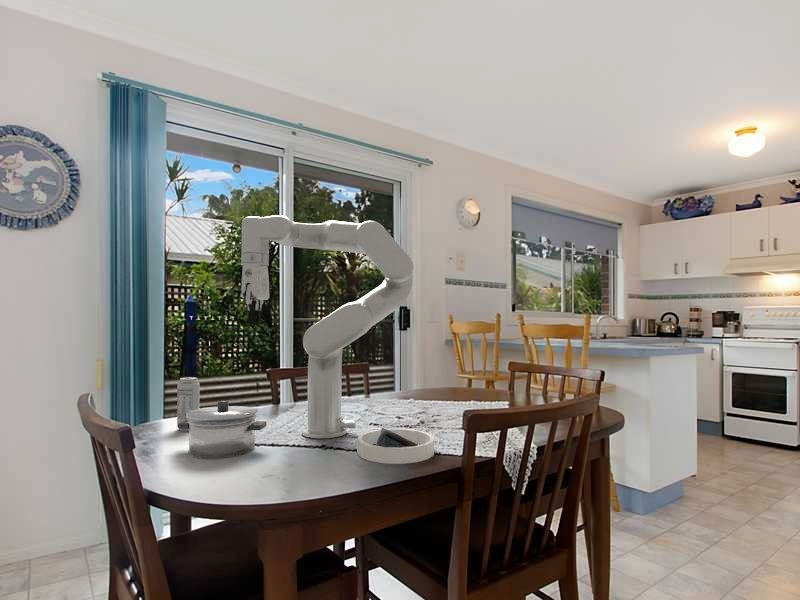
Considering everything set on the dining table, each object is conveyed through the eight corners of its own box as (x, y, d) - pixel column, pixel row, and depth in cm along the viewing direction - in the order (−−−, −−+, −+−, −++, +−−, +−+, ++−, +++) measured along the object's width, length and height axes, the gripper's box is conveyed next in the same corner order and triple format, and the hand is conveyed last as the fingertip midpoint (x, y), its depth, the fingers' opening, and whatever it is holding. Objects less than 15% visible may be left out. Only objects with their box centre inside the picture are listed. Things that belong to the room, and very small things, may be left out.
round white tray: (434, 442, 133) (434, 429, 133) (433, 464, 114) (433, 449, 114) (364, 440, 135) (364, 427, 135) (351, 462, 116) (351, 447, 116)
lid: (268, 412, 135) (268, 397, 135) (241, 424, 117) (242, 407, 117) (207, 410, 136) (208, 396, 136) (172, 422, 118) (173, 405, 119)
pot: (275, 440, 135) (276, 410, 135) (250, 460, 117) (251, 426, 117) (200, 438, 137) (200, 409, 137) (164, 457, 119) (164, 424, 119)
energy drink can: (203, 427, 148) (204, 377, 148) (188, 432, 143) (188, 380, 143) (188, 426, 150) (188, 376, 151) (172, 430, 145) (172, 379, 145)
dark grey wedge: (422, 452, 126) (388, 418, 127) (428, 452, 119) (392, 416, 120) (397, 482, 123) (362, 447, 124) (401, 483, 116) (365, 446, 117)
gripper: (258, 257, 135) (257, 325, 134) (276, 262, 150) (276, 323, 149) (231, 258, 135) (230, 325, 135) (252, 262, 150) (251, 323, 150)
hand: (254, 324), depth 142 cm, fingers closed
